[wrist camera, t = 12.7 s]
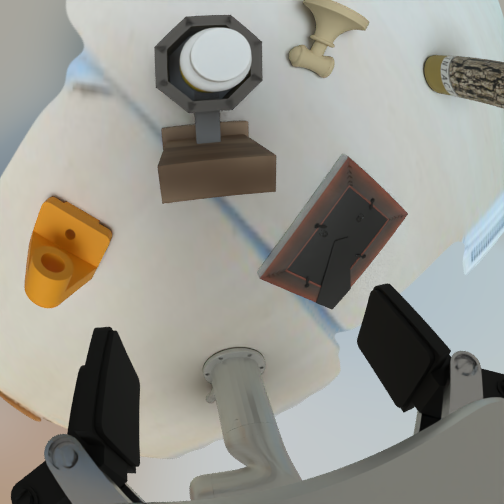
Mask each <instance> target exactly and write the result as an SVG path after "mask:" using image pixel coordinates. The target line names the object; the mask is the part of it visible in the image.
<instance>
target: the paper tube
mask: <svg viewBox="0 0 504 504" xmlns="http://www.w3.org/2000/svg"><path fill="white" fill-rule="evenodd" d="M424 73H425V78H426V81H427V83H428V84H429V86H430V87H431V88H432V89H433V90H434V91H435V92H437V93H441V94H447V95H452V96H456V97H461V98H465V99H470V100H474V101H478V102H482V103H486V104H490V105H493V106H497V107H500V108H504V62H500V61H493V60H487V59H479V58H470V57H459V56H441V55H433V56H430V57H429V58H428V59H427V61H426V63H425V67H424Z"/></svg>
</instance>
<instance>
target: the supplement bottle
mask: <svg viewBox="0 0 504 504" xmlns="http://www.w3.org/2000/svg"><path fill="white" fill-rule="evenodd" d="M251 62H252V56H251V48H250V45H249V43H248V41H247V40H246V38H245V37H244V36H243V35H242V34H240V33H239V32H237V31H235V30H232V29H229V28H209V29H205V30H202V31H200V32H198V33H196V34H195V35H193V36H192V37H191V38H190V39H189V40H188V41H187V42H186V43H185V45H184V47H183V49H182V51H181V54H180V73H181V76H182V79H183V80H184V82H185V83H186V84H187V85H188V86H189V87H190V88H191V89H193V90H195V91H198V92H202V93H213V92H220V91H225V90H228V89H230V88H232V87H234V86H236V85H237V84H239V83H240V82H241V81H242V80H243V79H244V78H245V77H246V75H247V74H248V72H249V70H250V67H251Z"/></svg>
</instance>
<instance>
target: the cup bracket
mask: <svg viewBox="0 0 504 504" xmlns="http://www.w3.org/2000/svg"><path fill="white" fill-rule="evenodd" d="M209 28H229V29H232V30H235V31H237V32H239V33H240V34H242V35H243V36H244V37H245V38H246V40H247V41H248V43H249V45H250V48H251V56H252V62H251V67H250V70H249V72H248V74H247V75H246V77H245V78H244V79H243V80H242V81H241V82H240V83H239V84H237V85H236V86H234V87H232V88H230V89H228V90H225V91H220V92H213V93H202V92H198V91H195V90H193V89H191V88H190V87H189V86H188V85H187V84H186V83H185V82H184V80H183V79H182V76H181V73H180V54H181V51H182V49H183V47H184V45H185V43H186V42H187V41H188V40H189V39H190V38H191V37H192V36H193V35H195V34H196V33H198V32H200V31H202V30H205V29H209ZM154 48H155V76H156V88H158V89H159V90H160V91H161V92H163V93H164V94H165V95H167V96H168V97H169V98H170V99H172V100H173V101H174V102H176V103H177V104H178V105H179V106H181V107H182V108H183V109H184V110H186V111H187V112H188V113H194V112H195V124H192V125H183V126H174V127H166V128H162V129H161V130H162V141H163V153H162V156H161V158H160V161H159V164H158V173H159V181H160V189H161V196H162V203H163V204H164V203H171V202H179V201H187V200H195V199H204V198H212V197H222V196H231V195H242V194H253V193H264V192H276V155H275V154H273V153H272V152H270V151H269V150H267V149H266V148H264V147H263V146H261V145H260V144H258V143H257V142H255V141H254V140H252V139H251V138H249V137H248V121H229V122H220V110H233V109H234V108H235V107H236V106H237V105H238V104H239V103H240V102H241V101H242V100H243V99H244V98H245V97H246V96H247V95H248V94H249V93H250V92H251V91H252V90H253V89H254V88H255V87H256V86H257V85H258V84H259V83H260V82H261V81H262V41H260V40H259V39H258V38H257V37H256V36H255V35H254V34H253V33H251V32H250V31H249V30H248V29H247V28H246V27H244V26H243V25H242V24H241V23H240V22H239V21H237V20H236V19H235V18H234V17H232V16H231V15H209V16H191V17H185V18H184V19H183V20H182V21H181V22H180V23H179V24H178V25H177V26H176V27H174V28H173V29H172V30H171V31H170V32H169V33H168V34H167V35H166V36H165V37H164V38H163V39H162V40H161V41H160V42H159V43H158V44H157V45H156V46H155V47H154Z"/></svg>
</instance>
